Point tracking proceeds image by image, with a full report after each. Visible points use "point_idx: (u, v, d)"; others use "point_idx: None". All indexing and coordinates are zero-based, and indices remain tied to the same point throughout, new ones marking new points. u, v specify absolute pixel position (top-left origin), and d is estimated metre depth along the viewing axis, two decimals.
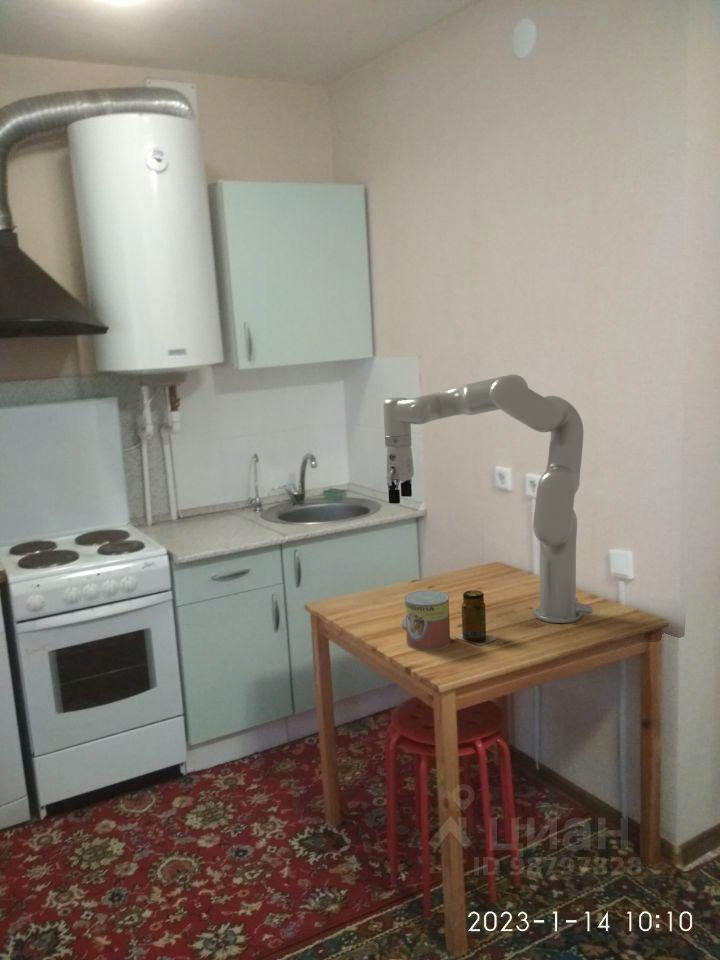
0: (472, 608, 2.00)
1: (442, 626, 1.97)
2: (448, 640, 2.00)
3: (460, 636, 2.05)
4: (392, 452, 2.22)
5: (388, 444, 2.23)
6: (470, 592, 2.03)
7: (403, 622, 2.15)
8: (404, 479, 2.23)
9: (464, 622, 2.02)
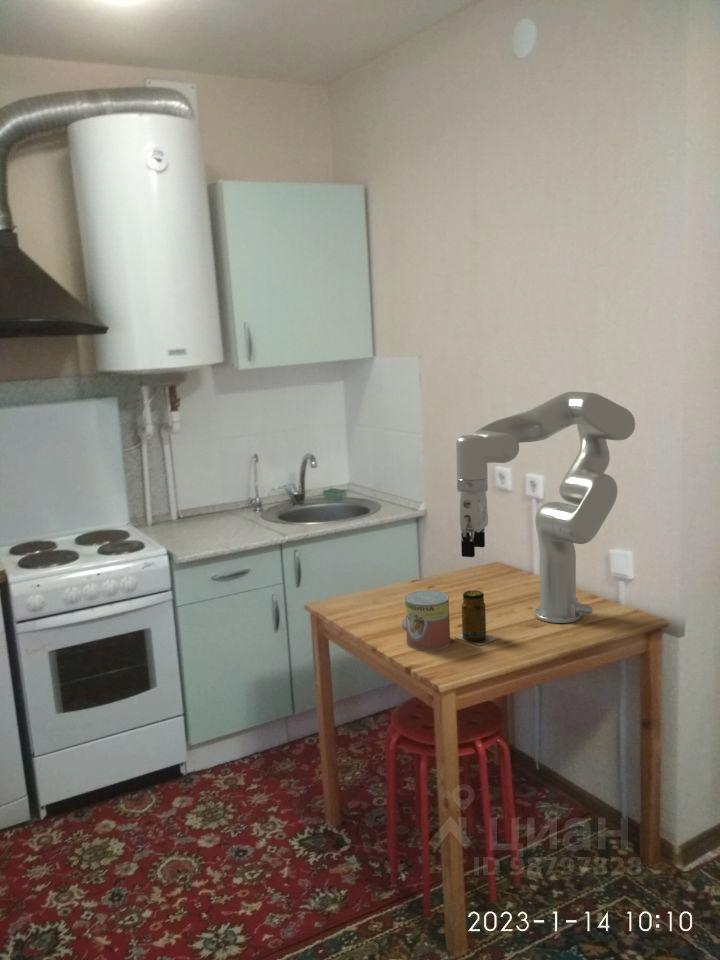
0: (472, 608, 2.00)
1: (442, 626, 1.97)
2: (448, 640, 2.00)
3: (460, 636, 2.05)
4: (467, 498, 1.93)
5: (462, 489, 1.94)
6: (470, 592, 2.03)
7: (403, 622, 2.15)
8: (480, 529, 1.94)
9: (464, 622, 2.02)
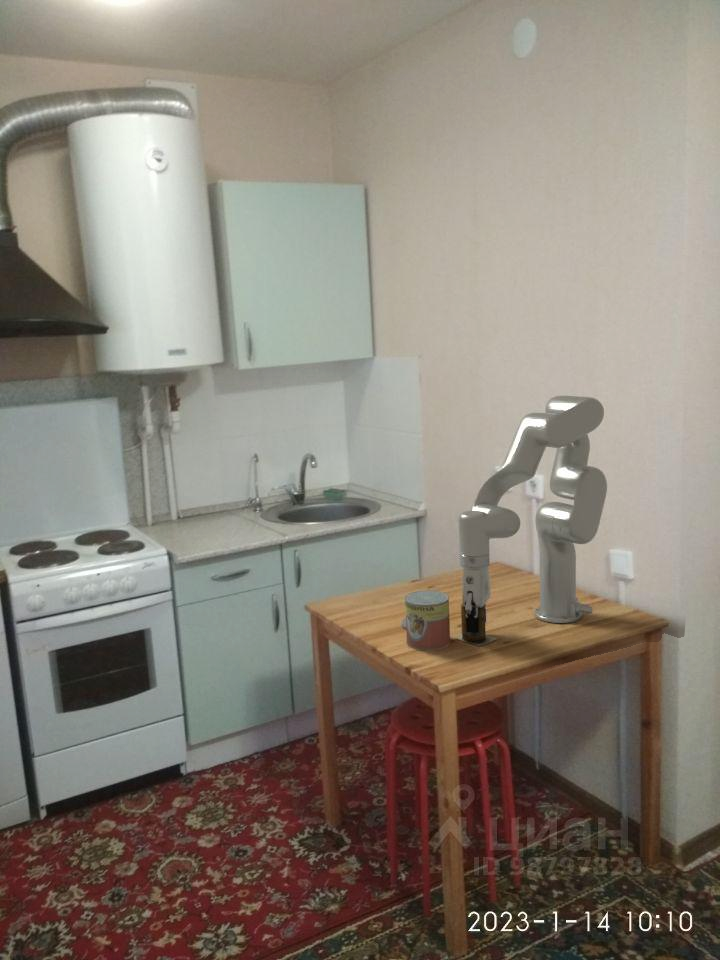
0: None
1: (442, 626, 1.97)
2: (448, 640, 2.00)
3: (460, 636, 2.05)
4: (469, 574, 1.96)
5: (464, 565, 1.98)
6: None
7: (403, 622, 2.15)
8: (482, 604, 1.98)
9: (463, 622, 2.02)
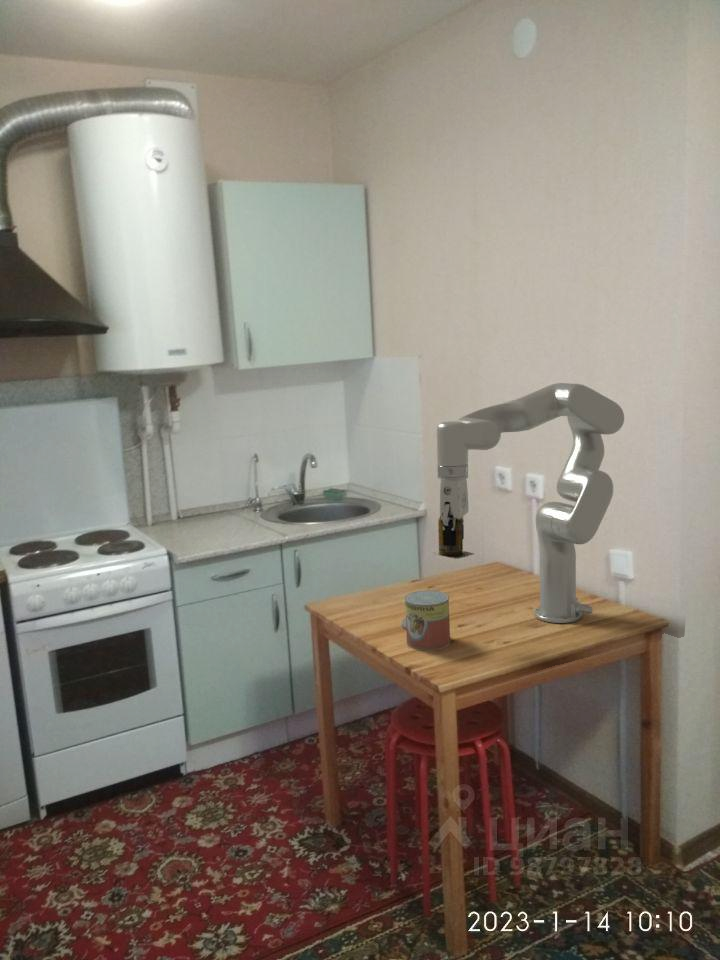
0: None
1: (442, 626, 1.97)
2: (448, 640, 2.00)
3: (436, 552, 2.00)
4: (447, 485, 1.92)
5: (442, 475, 1.93)
6: None
7: (403, 622, 2.15)
8: (460, 516, 1.93)
9: (440, 537, 1.97)
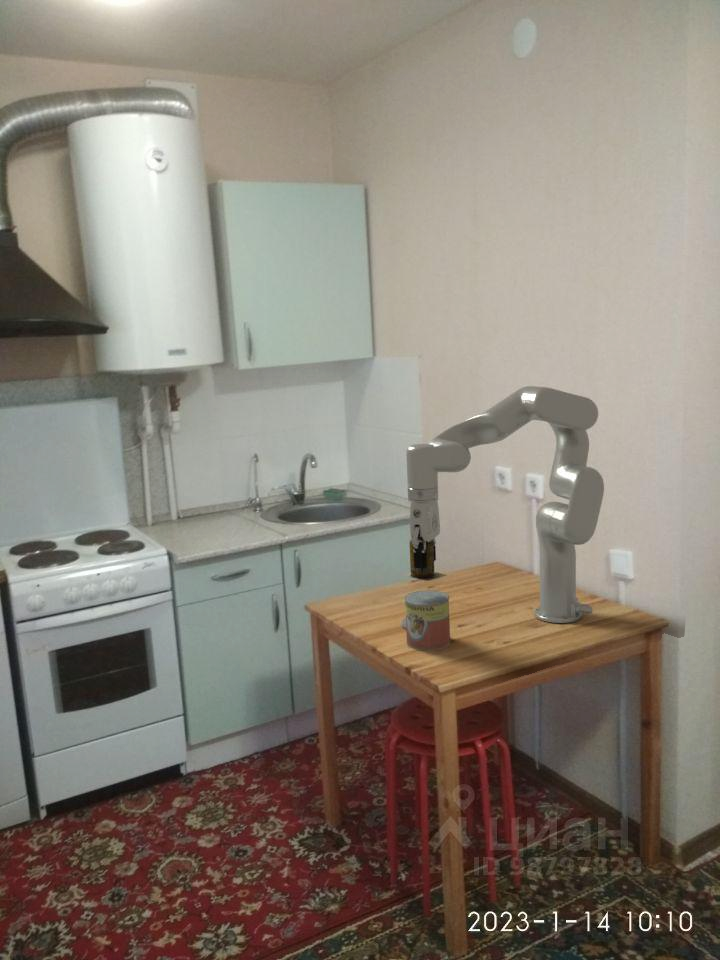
0: None
1: (442, 626, 1.97)
2: (448, 640, 2.00)
3: (408, 574, 2.00)
4: (416, 508, 1.92)
5: (412, 498, 1.93)
6: None
7: (403, 622, 2.15)
8: (430, 539, 1.93)
9: (412, 558, 1.98)
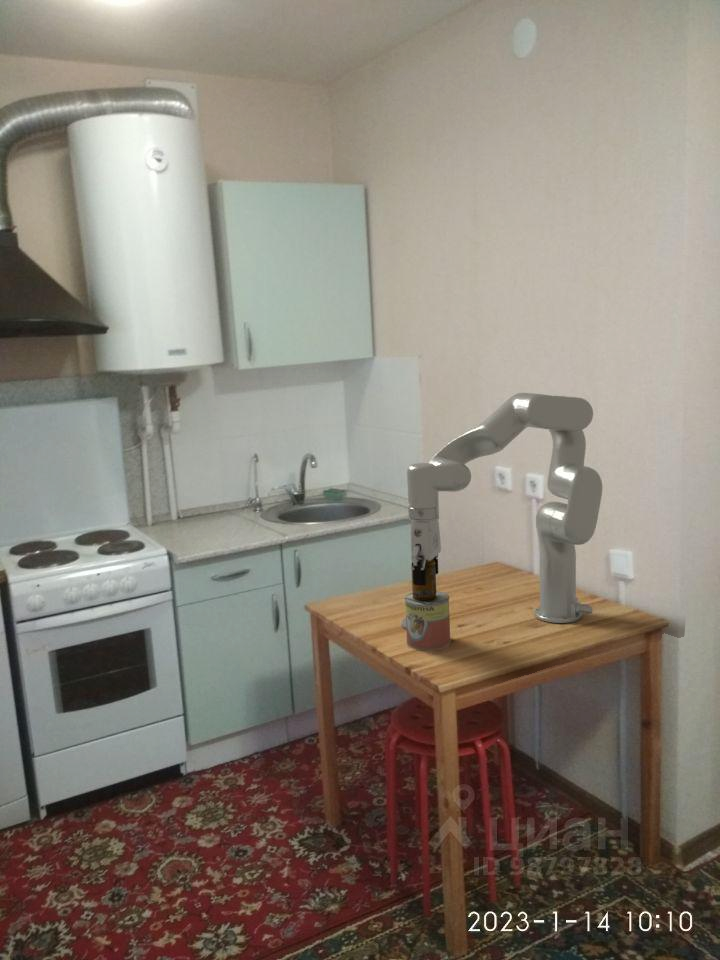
0: None
1: (442, 626, 1.97)
2: (448, 640, 2.00)
3: (410, 596, 2.02)
4: (417, 527, 1.93)
5: (412, 517, 1.94)
6: None
7: (403, 622, 2.15)
8: (431, 557, 1.94)
9: None
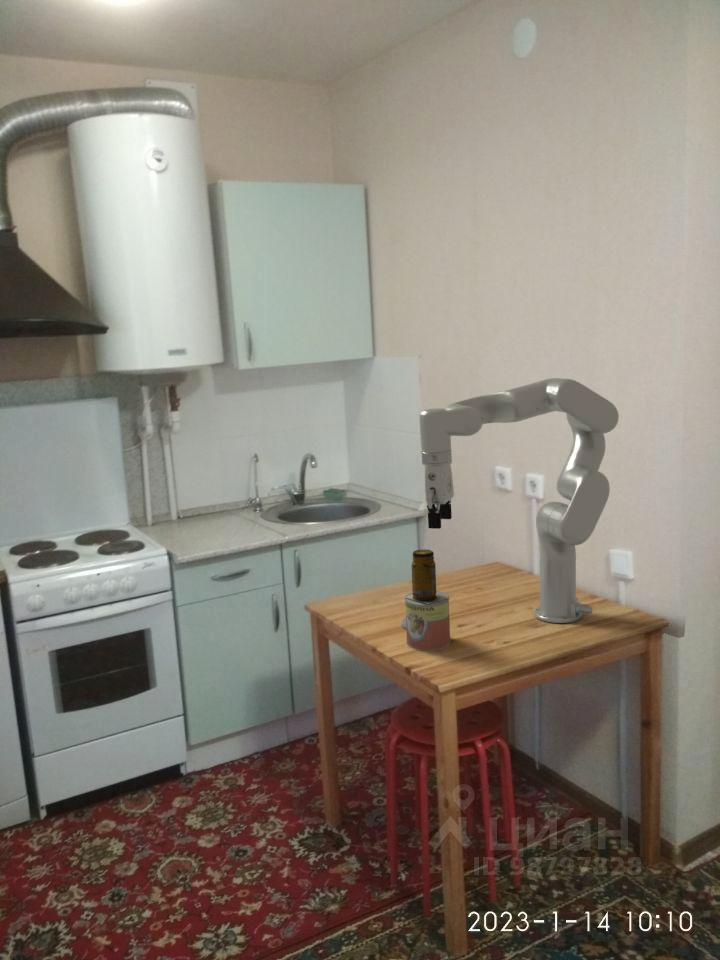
0: (421, 567, 1.97)
1: (442, 626, 1.97)
2: (448, 640, 2.00)
3: (410, 596, 2.02)
4: (431, 471, 1.96)
5: (426, 462, 1.97)
6: (420, 551, 2.00)
7: (403, 622, 2.15)
8: (445, 501, 1.97)
9: (414, 581, 1.99)
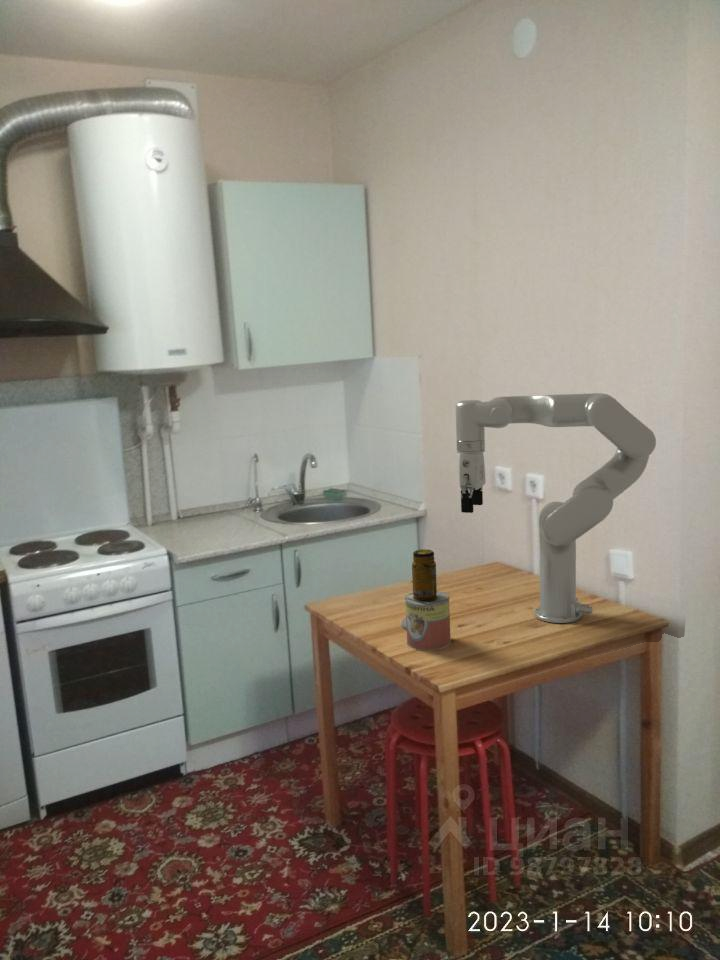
0: (421, 567, 1.97)
1: (442, 626, 1.97)
2: (448, 640, 2.00)
3: (411, 596, 2.02)
4: (466, 458, 2.09)
5: (461, 450, 2.10)
6: (420, 551, 2.00)
7: (403, 622, 2.15)
8: (478, 487, 2.10)
9: (414, 581, 1.99)
